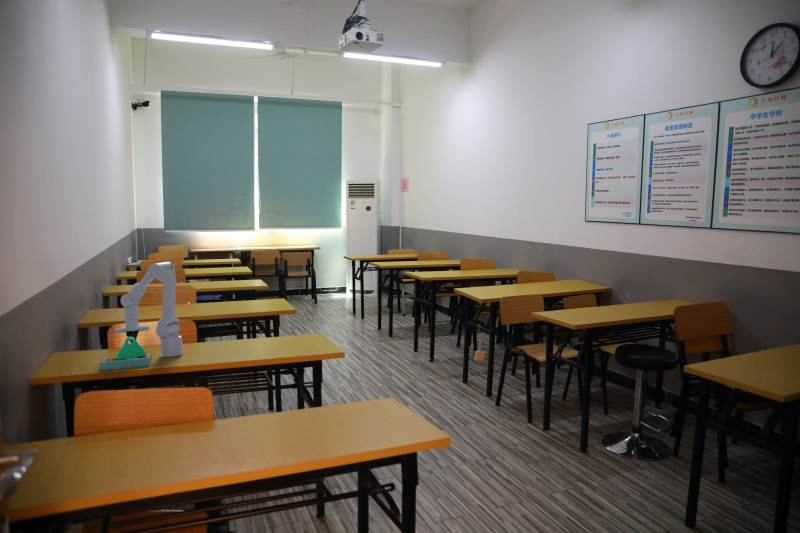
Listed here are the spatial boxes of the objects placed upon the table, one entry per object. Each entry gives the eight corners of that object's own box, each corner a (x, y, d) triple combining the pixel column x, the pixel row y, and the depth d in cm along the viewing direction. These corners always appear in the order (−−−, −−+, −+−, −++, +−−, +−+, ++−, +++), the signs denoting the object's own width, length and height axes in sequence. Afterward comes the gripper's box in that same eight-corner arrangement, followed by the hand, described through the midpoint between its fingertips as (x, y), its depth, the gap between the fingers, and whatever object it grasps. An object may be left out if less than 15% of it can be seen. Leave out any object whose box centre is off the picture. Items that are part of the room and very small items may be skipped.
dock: (152, 358, 249) (151, 350, 249) (148, 365, 237) (148, 358, 236) (105, 362, 243) (105, 355, 242) (100, 370, 230) (99, 362, 230)
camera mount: (144, 354, 257) (142, 333, 256) (146, 357, 251) (144, 336, 250) (116, 358, 251) (114, 336, 250) (117, 361, 245) (115, 339, 244)
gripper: (148, 316, 265) (150, 342, 267) (116, 318, 261) (118, 345, 262) (147, 318, 259) (149, 346, 260) (113, 321, 254) (115, 349, 255)
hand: (133, 346), depth 261 cm, fingers closed
